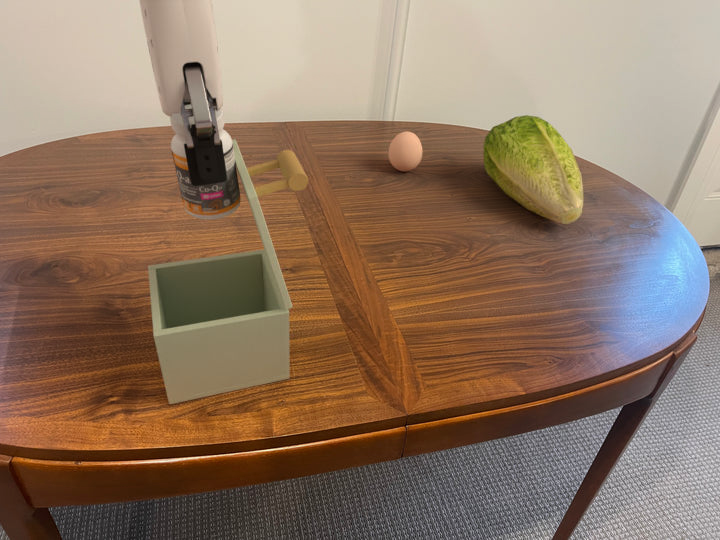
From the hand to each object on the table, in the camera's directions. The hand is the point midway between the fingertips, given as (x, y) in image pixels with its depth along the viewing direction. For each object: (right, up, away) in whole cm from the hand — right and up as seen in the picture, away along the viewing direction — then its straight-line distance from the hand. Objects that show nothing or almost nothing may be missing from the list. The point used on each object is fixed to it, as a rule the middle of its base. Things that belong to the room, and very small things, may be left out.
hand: (203, 163), depth 51 cm
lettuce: (+47, +3, +50) cm, 68 cm away
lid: (+4, -6, +4) cm, 8 cm away
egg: (+24, +10, +56) cm, 61 cm away
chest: (-2, -21, +14) cm, 25 cm away
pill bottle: (0, -4, +3) cm, 5 cm away
